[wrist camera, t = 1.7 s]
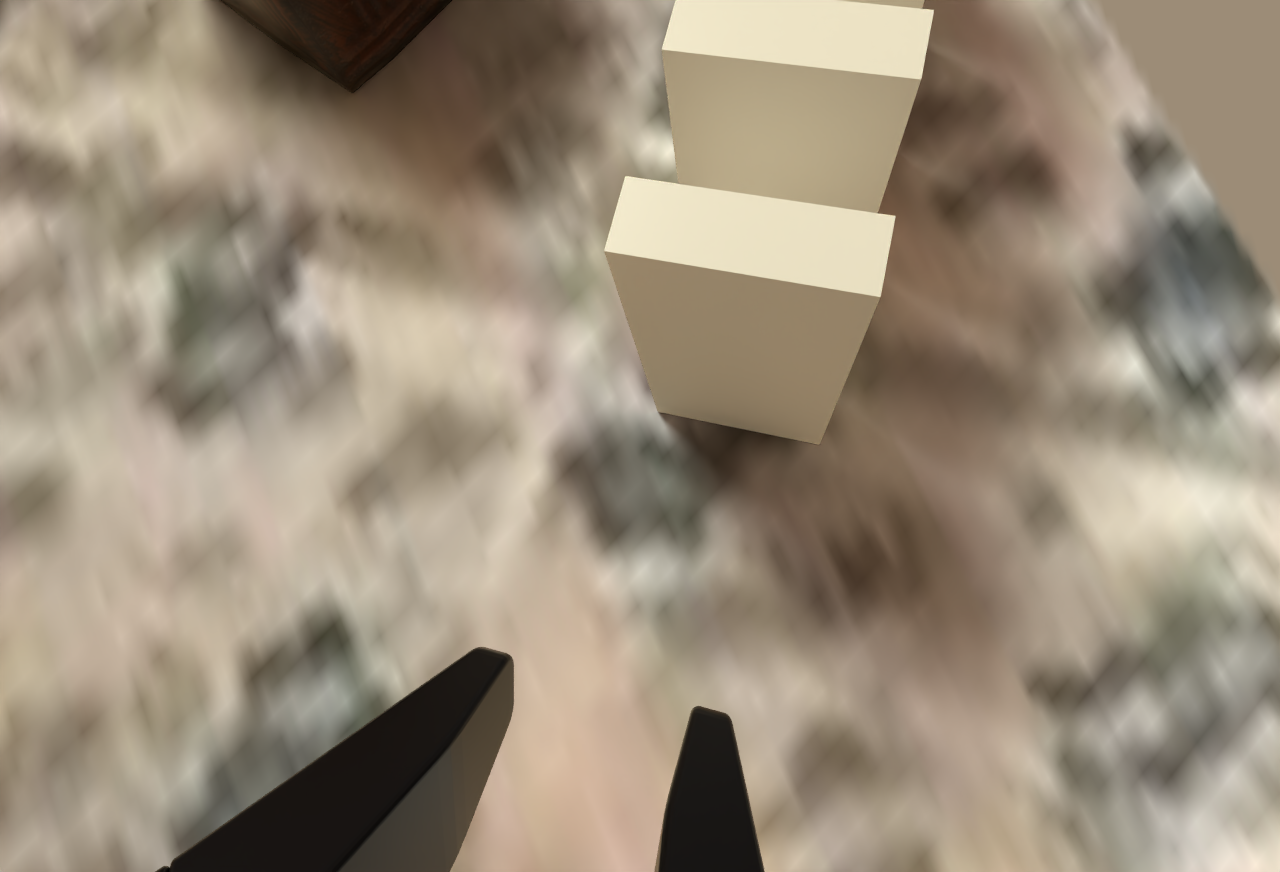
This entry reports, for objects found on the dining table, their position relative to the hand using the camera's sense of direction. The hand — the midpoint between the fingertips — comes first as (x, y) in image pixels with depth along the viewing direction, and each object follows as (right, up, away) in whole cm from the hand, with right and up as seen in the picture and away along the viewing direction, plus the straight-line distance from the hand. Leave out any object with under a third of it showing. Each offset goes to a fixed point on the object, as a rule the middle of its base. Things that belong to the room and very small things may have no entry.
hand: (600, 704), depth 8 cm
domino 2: (+4, +4, +15) cm, 16 cm away
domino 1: (+5, +8, +16) cm, 19 cm away
